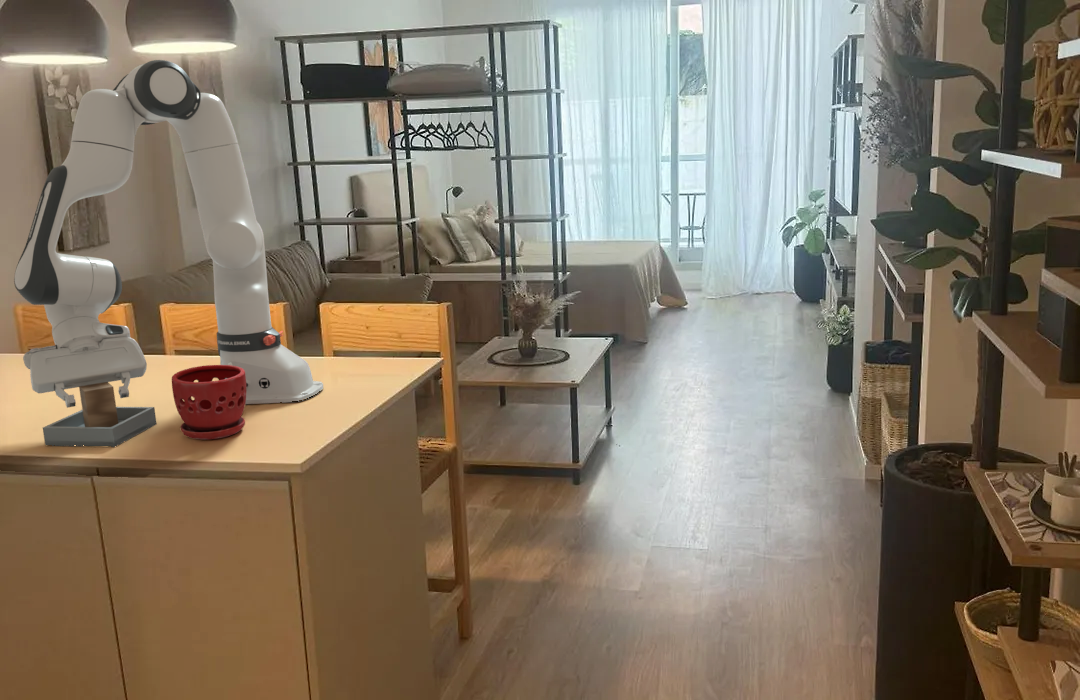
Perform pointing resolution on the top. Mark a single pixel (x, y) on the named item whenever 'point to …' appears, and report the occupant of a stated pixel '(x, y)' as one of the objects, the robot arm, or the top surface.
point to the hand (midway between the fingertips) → (98, 400)
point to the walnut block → (98, 405)
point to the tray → (99, 428)
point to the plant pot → (210, 400)
